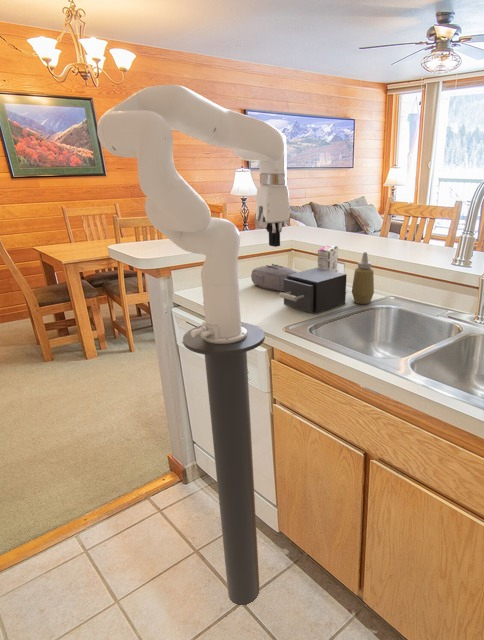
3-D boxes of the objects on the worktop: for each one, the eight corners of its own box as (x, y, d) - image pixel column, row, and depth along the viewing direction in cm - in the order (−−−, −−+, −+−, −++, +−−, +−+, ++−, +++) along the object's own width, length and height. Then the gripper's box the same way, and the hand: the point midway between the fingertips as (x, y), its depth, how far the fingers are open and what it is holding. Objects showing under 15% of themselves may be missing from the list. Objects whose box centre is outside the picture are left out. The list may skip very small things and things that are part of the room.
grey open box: (316, 314, 146) (317, 282, 142) (287, 305, 154) (286, 275, 150) (345, 303, 157) (346, 274, 153) (316, 296, 165) (316, 267, 161)
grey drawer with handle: (300, 316, 141) (300, 289, 137) (273, 307, 149) (272, 282, 145) (338, 303, 155) (339, 278, 151) (311, 295, 162) (311, 272, 158)
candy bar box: (325, 285, 180) (326, 244, 173) (337, 286, 178) (338, 245, 171) (316, 292, 170) (317, 249, 163) (328, 293, 169) (330, 250, 162)
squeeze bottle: (376, 301, 161) (380, 251, 153) (367, 306, 155) (371, 255, 147) (357, 297, 165) (359, 249, 157) (347, 302, 158) (349, 252, 151)
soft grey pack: (246, 285, 177) (282, 295, 165) (245, 264, 173) (281, 273, 162) (273, 278, 187) (308, 287, 176) (272, 259, 184) (308, 266, 172)
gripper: (282, 179, 132) (283, 241, 140) (244, 180, 121) (247, 247, 129) (300, 180, 127) (300, 244, 135) (262, 181, 117) (264, 251, 125)
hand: (274, 245), depth 132 cm, fingers closed
